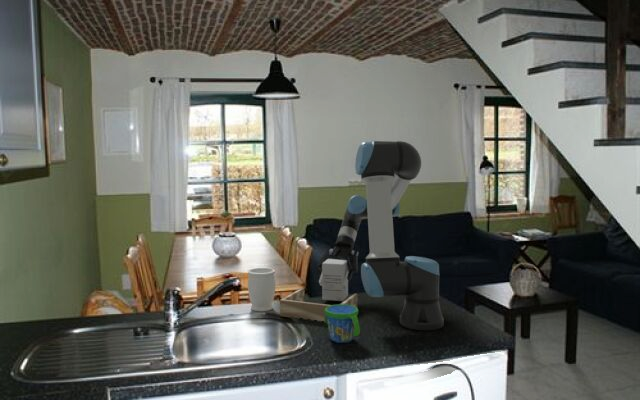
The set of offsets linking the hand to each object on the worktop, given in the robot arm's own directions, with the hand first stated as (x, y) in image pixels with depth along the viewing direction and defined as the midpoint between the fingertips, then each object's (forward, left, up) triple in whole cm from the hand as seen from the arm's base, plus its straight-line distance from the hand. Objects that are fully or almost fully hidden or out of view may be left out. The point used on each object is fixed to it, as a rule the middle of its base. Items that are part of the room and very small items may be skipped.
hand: (332, 285), depth 205 cm
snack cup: (-34, +23, -8) cm, 42 cm away
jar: (+11, +26, -8) cm, 29 cm away
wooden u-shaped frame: (-7, +12, -7) cm, 16 cm away
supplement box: (+2, -3, -6) cm, 7 cm away
